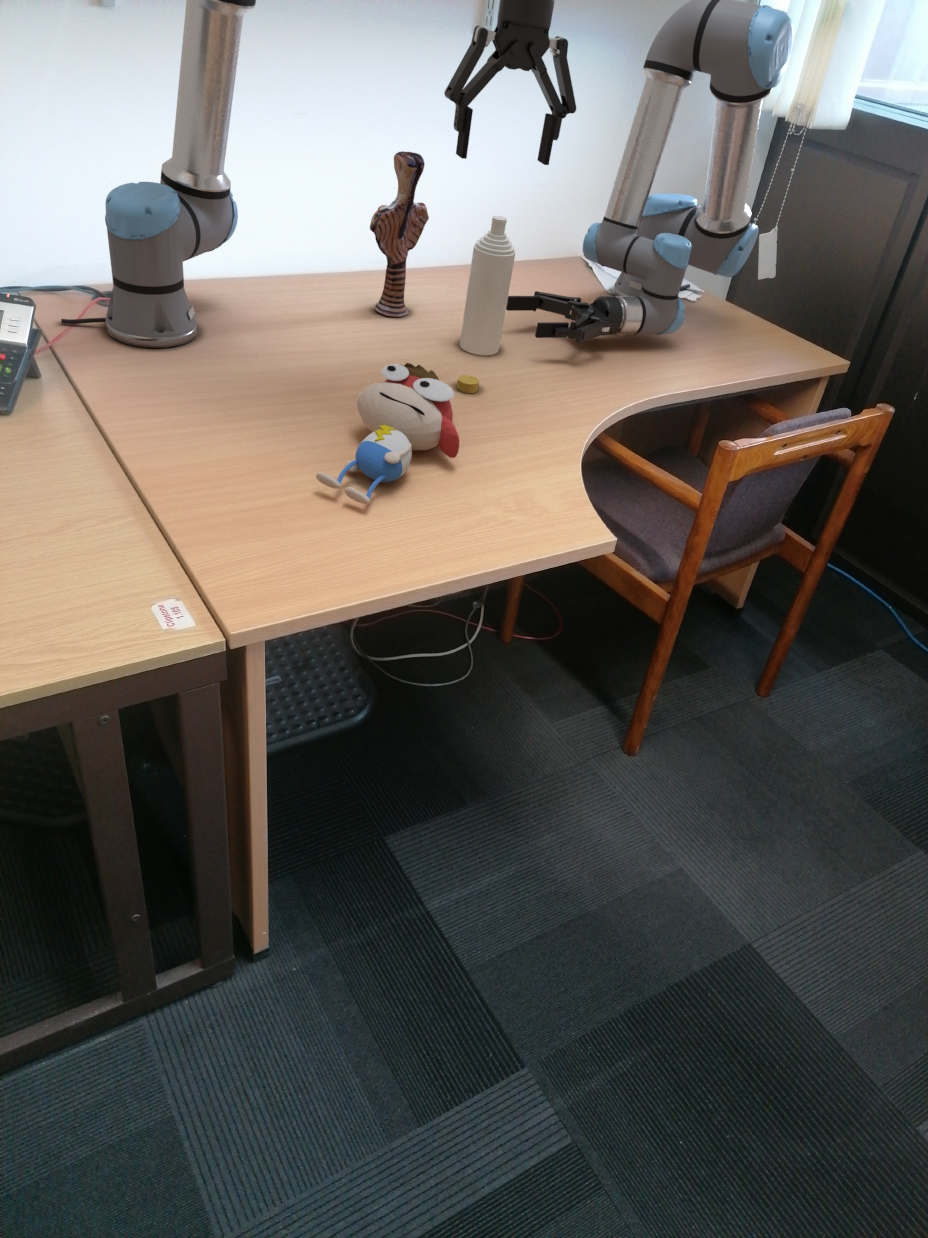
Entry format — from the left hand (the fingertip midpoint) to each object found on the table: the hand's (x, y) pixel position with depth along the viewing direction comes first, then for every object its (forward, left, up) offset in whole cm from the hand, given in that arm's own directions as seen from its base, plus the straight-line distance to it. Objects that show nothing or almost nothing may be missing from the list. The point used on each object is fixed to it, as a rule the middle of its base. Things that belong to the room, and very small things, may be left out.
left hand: (502, 159), depth 135 cm
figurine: (-24, +26, -37) cm, 52 cm away
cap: (0, 0, -36) cm, 36 cm away
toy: (-3, -32, -37) cm, 49 cm away
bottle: (-4, +20, -37) cm, 42 cm away
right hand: (+3, +25, -31) cm, 40 cm away
